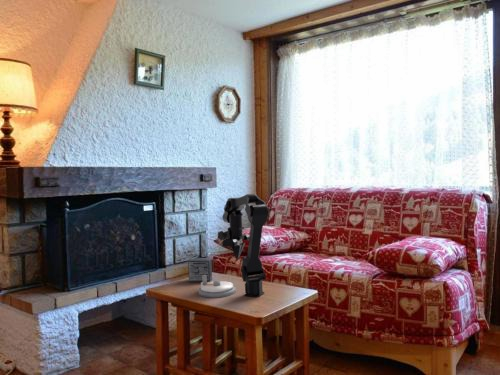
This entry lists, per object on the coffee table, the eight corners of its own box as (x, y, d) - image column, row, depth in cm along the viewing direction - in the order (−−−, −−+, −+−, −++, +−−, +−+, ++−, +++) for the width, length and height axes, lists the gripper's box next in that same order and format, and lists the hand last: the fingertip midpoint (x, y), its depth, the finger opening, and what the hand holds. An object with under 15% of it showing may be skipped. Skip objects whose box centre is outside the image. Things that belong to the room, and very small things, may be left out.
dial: (238, 284, 188) (237, 273, 188) (224, 293, 175) (224, 281, 175) (210, 282, 193) (209, 271, 193) (194, 291, 180) (194, 279, 180)
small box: (212, 278, 208) (211, 257, 208) (210, 282, 202) (209, 260, 201) (191, 278, 209) (190, 257, 209) (188, 282, 203) (187, 260, 203)
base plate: (241, 288, 188) (241, 281, 188) (224, 299, 174) (223, 290, 173) (210, 285, 195) (210, 278, 195) (191, 295, 181) (191, 287, 180)
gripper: (228, 222, 206) (230, 254, 207) (210, 227, 189) (212, 262, 190) (250, 222, 202) (251, 255, 202) (233, 227, 185) (234, 263, 185)
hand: (237, 258), depth 195 cm, fingers closed
